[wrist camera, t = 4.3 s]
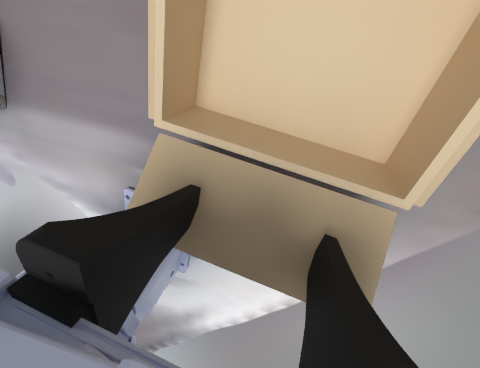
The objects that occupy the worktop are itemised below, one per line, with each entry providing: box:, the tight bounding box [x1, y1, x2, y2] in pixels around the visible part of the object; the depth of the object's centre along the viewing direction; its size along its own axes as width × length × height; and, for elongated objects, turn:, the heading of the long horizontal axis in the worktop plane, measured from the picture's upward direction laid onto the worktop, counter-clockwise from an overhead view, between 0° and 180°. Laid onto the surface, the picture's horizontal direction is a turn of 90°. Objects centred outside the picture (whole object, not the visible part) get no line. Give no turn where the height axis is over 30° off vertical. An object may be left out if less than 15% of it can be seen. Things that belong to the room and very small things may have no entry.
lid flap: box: [127, 133, 397, 305], centre depth 13 cm, size 6×14×1 cm
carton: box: [148, 0, 480, 210], centre depth 12 cm, size 11×16×5 cm
